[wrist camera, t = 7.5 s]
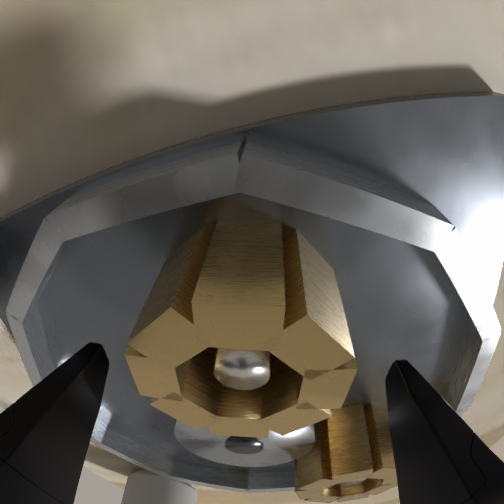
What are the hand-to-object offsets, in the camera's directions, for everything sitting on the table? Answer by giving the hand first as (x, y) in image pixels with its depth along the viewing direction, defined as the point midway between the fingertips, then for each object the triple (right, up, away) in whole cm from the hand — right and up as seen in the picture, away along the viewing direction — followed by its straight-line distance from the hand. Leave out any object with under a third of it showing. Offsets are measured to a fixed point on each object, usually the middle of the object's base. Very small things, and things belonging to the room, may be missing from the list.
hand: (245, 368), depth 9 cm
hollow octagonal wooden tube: (0, +2, +3) cm, 3 cm away
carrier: (0, -4, +7) cm, 8 cm away
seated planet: (+6, -8, +8) cm, 13 cm away
